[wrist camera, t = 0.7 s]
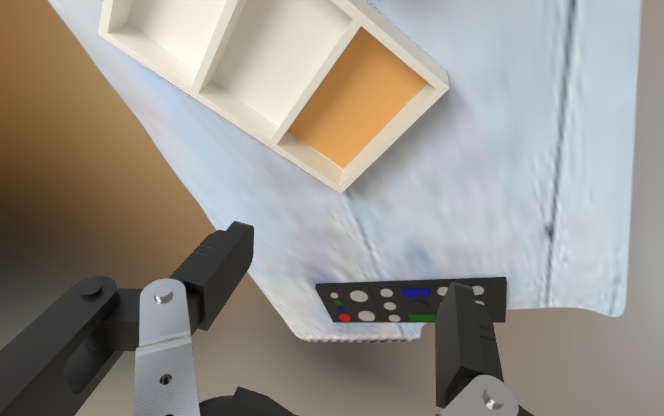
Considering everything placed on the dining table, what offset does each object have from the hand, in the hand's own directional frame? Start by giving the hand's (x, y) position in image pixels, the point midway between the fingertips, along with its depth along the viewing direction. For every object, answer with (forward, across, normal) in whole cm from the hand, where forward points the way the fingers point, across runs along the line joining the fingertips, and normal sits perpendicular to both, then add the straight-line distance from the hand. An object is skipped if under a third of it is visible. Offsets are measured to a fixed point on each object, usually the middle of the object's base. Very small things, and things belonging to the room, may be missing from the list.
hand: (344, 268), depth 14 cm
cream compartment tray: (+25, +13, -3) cm, 29 cm away
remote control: (+35, -10, +35) cm, 50 cm away
